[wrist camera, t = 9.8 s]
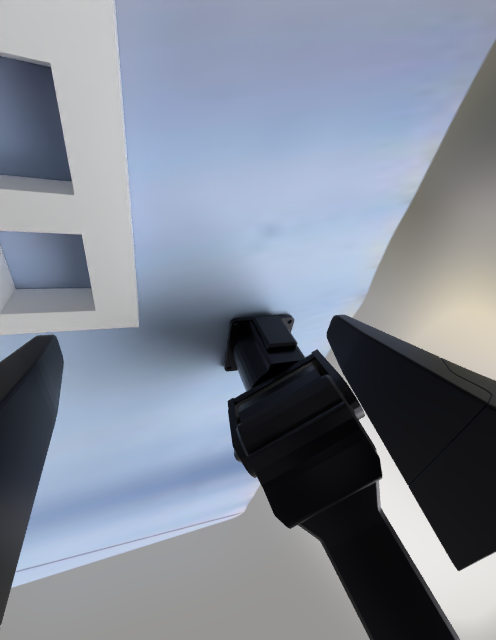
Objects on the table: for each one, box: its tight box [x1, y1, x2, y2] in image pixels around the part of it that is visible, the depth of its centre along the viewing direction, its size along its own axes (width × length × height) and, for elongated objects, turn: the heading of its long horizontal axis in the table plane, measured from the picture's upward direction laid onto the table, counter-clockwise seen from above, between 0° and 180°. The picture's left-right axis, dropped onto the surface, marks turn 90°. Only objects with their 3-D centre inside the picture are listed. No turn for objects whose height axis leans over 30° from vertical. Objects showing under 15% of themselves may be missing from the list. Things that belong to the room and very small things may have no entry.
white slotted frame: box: [0, 0, 139, 335], centre depth 13 cm, size 22×10×3 cm, turn 171°
